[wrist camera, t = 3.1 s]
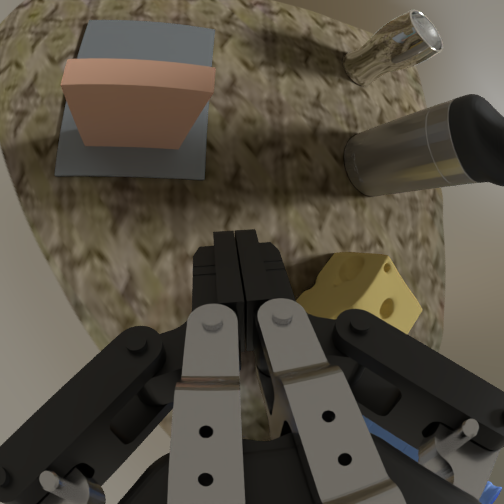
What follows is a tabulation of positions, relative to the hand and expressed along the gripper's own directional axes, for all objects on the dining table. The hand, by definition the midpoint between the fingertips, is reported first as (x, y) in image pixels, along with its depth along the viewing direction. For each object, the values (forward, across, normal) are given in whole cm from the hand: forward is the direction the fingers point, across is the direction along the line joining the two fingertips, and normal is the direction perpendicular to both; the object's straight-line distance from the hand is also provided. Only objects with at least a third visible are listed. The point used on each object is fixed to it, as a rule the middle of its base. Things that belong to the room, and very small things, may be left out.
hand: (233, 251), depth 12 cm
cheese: (+17, -14, +22) cm, 31 cm away
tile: (+23, +9, +1) cm, 24 cm away
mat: (+26, +8, -3) cm, 28 cm away
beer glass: (+38, -22, -5) cm, 44 cm away
